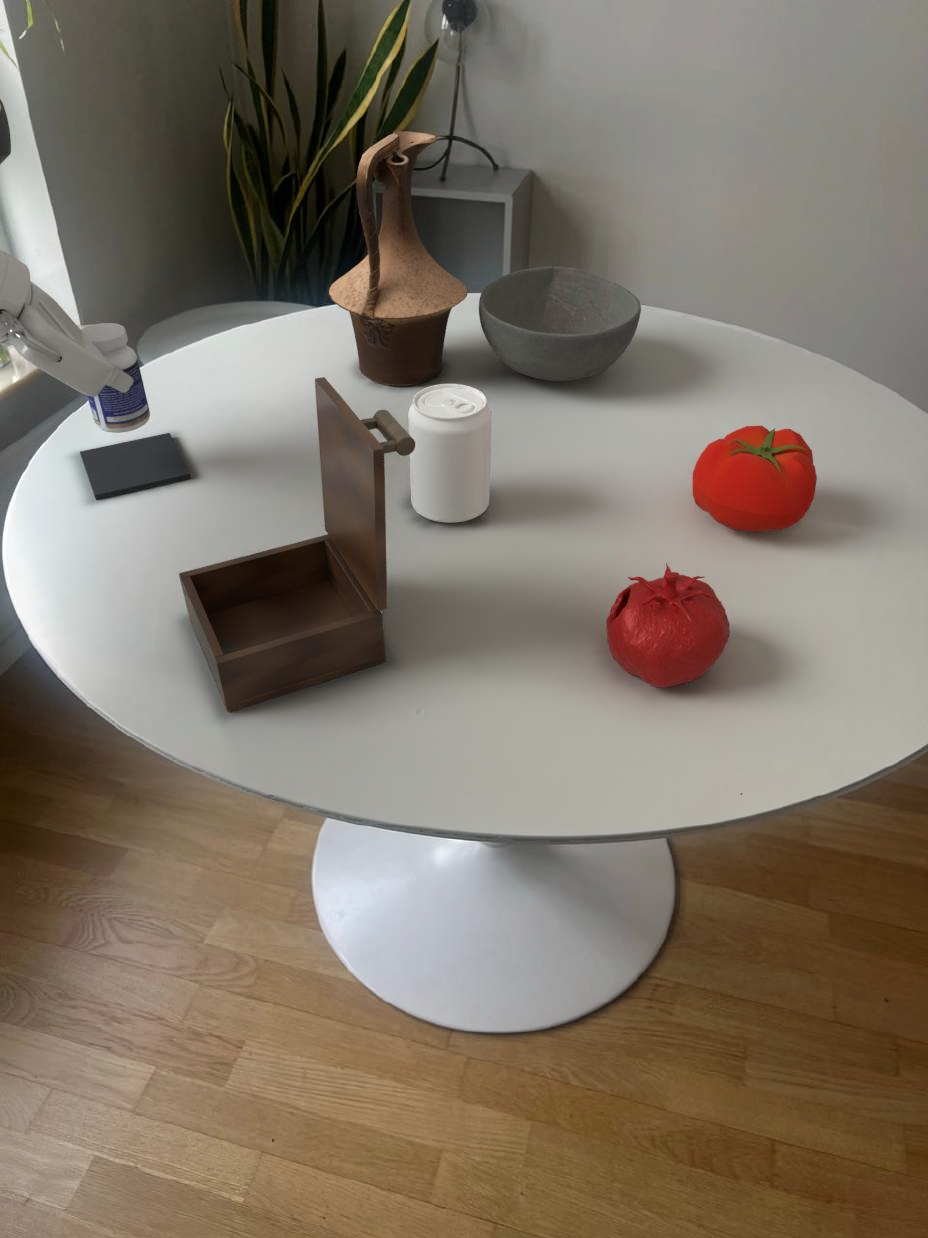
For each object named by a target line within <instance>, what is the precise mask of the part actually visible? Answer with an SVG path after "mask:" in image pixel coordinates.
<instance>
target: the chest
mask: <svg viewBox="0 0 928 1238" xmlns="http://www.w3.org/2000/svg"><path fill="white" fill-rule="evenodd" d="M178 576H179V577H178V578H179V581H180V585H181V589H182V594H183V598H184V602H185V605H186V610H187V614H188V618H189V623H190V624H191V627H192V629H193V631H194V634H195V636H196V639H197V641H198V644H199V646H200V648H201V651H202V653H203V656H204V659H205V661H206V664H207V666H208V668H209V670H210V673H211V676H212V678H213V680H214V683H215V685H216V688H217V690H218V693H219V695H220V698H221V700H222V702H223V705H224V707H225V710H226V712H227V713H231V712H234V711H236V710H240V709H243V708H245V707H250V706H252V705H255V704H259V703H261V702H262V703H263V702H265V701H268V700H271V699H275V698H278V697H281V696H284V695H287V694H289V693H293V692H296V691H299V690H303V689H306V688H309V687H311V686H315V685H318V684H322V683H325V682H327V681H331V680H334V679H338V678H340V677H343V676H346V675H350V674H352V673H355V672H358V671H362V670H365V669H368V668H371V667H375V666H378V665H381V664H385V663H386V646H385V644H386V643H385V630H384V617H383V616H384V614H383V613H382V610H379V611H378V610H377V609H376V607H375V606H374V604H373V603H372V601H371V600H370V598H369V596H368V595H367V593H366V592H365V590H364V589H363V587H362V586H361V584H360V583H359V581H358V580H357V578H356V577H355V575H354V574H353V572H352V571H351V569H350V567H349V566H348V564H347V563H346V561H345V560H344V558H343V557H342V555H341V554H340V552H339V551H338V549H337V548H336V546H335V545H334V543H333V542H332V540H331V538H330V537H329V535H328V534H327V533H326V534H324V535H320V536H316V537H312V538H308V539H305V540H300V541H297V542H293V543H289V544H285V545H281V546H277V547H274V548H270V549H267V550H263V551H259V552H255V553H252V554H251V553H250V554H248V555H244V556H240V557H235V558H231V559H228V560H225V561H221V562H217V563H213V564H209V565H205V566H202V567H198V568H194V569H190V570H186V571H183V572H179V573H178Z"/></svg>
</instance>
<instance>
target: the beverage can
mask: <svg viewBox="0 0 928 1238" xmlns="http://www.w3.org/2000/svg"><path fill="white" fill-rule="evenodd" d="M492 416H493V415H492V410H491V407H490V405H489V403H488V399H487V396H486V394H484V393H483V392H482V391H481V390H480V389H478V388H475V387H473V386H469V385H465V384H461V383H440V384H434V385H430V386H426V387H424V388H423V389H421V390H419V391H418V392H416V393H415V394H414V396H413V398H412V404H411V405H410V407H409V408H408V412H407V423H408V424H407V425H408V434H409V435H410V436H411V437H412V438H413V439H414V441H415V449H414V451H413V452H412V453H411V454H409V474H410V498H411V499H410V500H411V501H410V503H411V506H412V508H413V509H414V511H415V512H416V513H417V514H419V515H420V516H421V517H424V518H425V519H427V520H429V521H434V522H437V523H447V524H449V523H450V524H454V523H463V522H467V521H470V520H473V519H476V518H477V517H479V516H481V515H482V514H483V513H484V512H485V511H486V510H487V509H488V507H489V504H490V494H491V491H490V490H491V486H490V485H491V460H492V459H491V455H492V424H493V423H492V422H493V421H492V419H493V418H492Z"/></svg>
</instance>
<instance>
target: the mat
mask: <svg viewBox="0 0 928 1238" xmlns="http://www.w3.org/2000/svg"><path fill="white" fill-rule="evenodd" d="M79 455H80V458H81V460H82V464H83V466H84V470H85V472H86V475H87V478H88V482H89V484H90V487H91V490H92V493H93V496H94V498H95V500H97V501H98V500H101V499H106V498H111V497H113V496H119V495H125V494H128V493H131V492H137V491H141V490H146V489H149V488H150V489H151V488H154V487H158V486H162V485H168V484H172V483H175V482H180V481H184V480H190V479H191V478H192V476H191V472H190V470H189V468H188V467H187V465H186V462H185V460H184V459H183V457H182V455H181V453H180V451H179V448H178V446H177V445H176V443H175V440H174V439H173V436H172V434H171V433H170V432H166V433H162V434H161V433H160V434H158V435H151V436H148V437H143V438H138V439H133V440H128V441H124V442H119V443H115V444H114V443H113V444H109V445H104V446H100V447H95V448H89V449H85V450H81V451H79Z"/></svg>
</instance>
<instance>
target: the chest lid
mask: <svg viewBox="0 0 928 1238" xmlns="http://www.w3.org/2000/svg"><path fill="white" fill-rule="evenodd" d="M314 389H315V404H316V418H317V419H316V420H317V421H316V422H317V435H318V449H319V463H320V479H321V491H322V505H323V506H322V507H323V508H322V509H323V522H324V531H325V532H326V535H327V534H328V535H329V537H330V538H331V540H332V542H333V543H334V545H335V546H336V548H337V549H338V551H339V552H340V554H341V555H342V557H343V558H344V560H345V561H346V563H347V564H348V566H349V567H350V569H351V571H352V572H353V574H354V575H355V577H356V578H357V580H358V581H359V583H360V584H361V586H362V587H363V589H364V590H365V592H366V593H367V595H368V596H369V598H370V600H371V601H372V603H373V604H374V606H375V607H376V609H377V610H378V611H379V610H380V611H382V610H386V609H388V577H387V576H388V574H387V573H388V571H387V570H388V569H387V566H388V565H387V522H386V521H387V519H386V518H387V517H386V515H387V514H386V467H385V466H386V465H385V454H390V453H395V452H396V453H397V454H398V455H399V456H402V457H407V456H410V454H411V453H412V452H413V451H414V449H415V441H414V439H413V438H412V437H411V436H410V435H409V432H408V431H407V430H406V429H405V428H404V427H403V426H402V425H401V423H400V422H399V421H398V420H397V419H396V418H395V417H394V416H393V415H392V413H390V411H389V410H387V409H379V410H377V411H376V412H375V413H374V414H373V416H372V417H369V418H363V419H361V418H359V416H358V415H357V414H356V413H355V412H354V411H353V409H352V408H351V407H350V406H349V404H348V403H347V402H346V401H345V400H344V399H343V397H342V396H341V395H340V393H339V392H337V390H336V389H335V388H334V387H333V385H332V384H331V382H329V381H328V379H327V378H326V377H325V376H323V377H316V378H314ZM375 429H376V430H378V432H379V433H380V434H381V436H383V438H384V439H385V440H386V441H381V442H379V440H378V439H377V438H376V437H375V435H373V433H372V432H371V430H375Z"/></svg>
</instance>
